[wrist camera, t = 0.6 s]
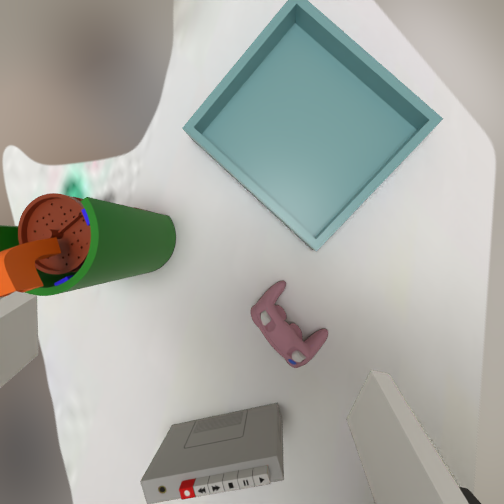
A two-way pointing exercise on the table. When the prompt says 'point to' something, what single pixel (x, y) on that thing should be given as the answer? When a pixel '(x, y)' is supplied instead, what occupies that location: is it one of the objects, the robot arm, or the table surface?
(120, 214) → the motor
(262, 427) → the cassette player
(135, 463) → the table surface
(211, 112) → the tray
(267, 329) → the video game controller
